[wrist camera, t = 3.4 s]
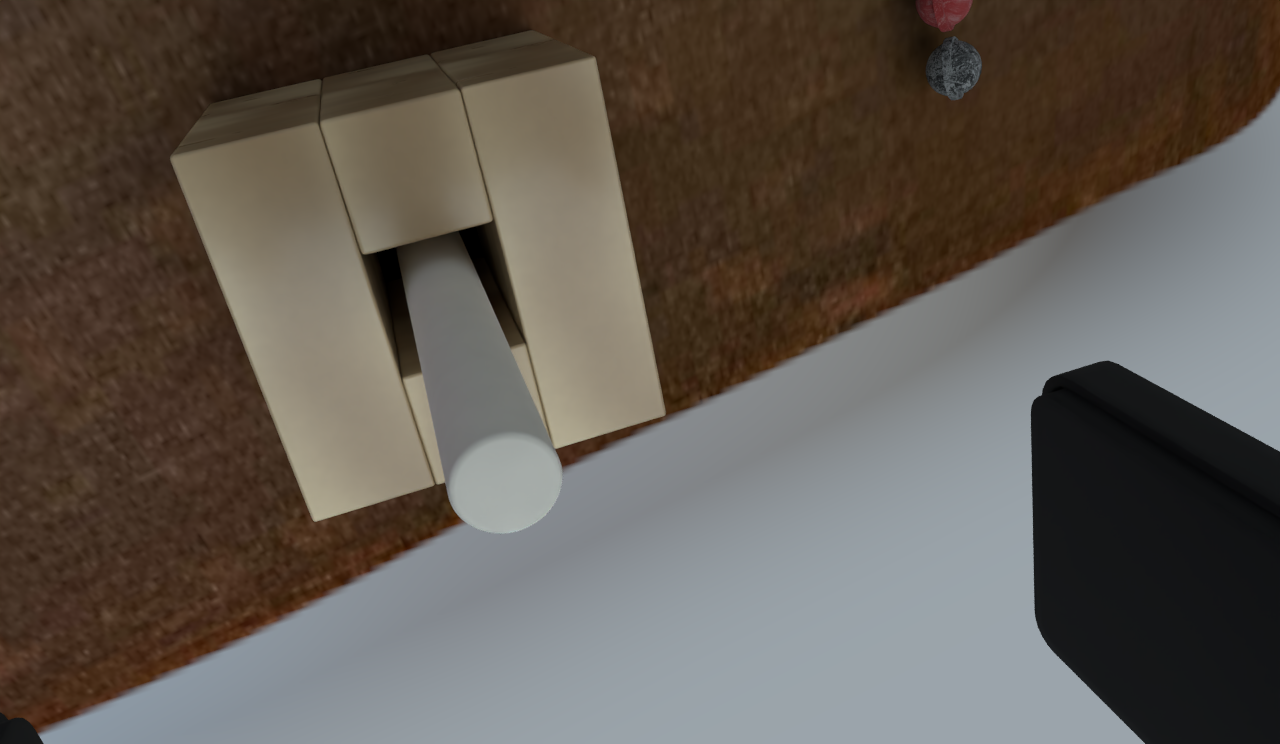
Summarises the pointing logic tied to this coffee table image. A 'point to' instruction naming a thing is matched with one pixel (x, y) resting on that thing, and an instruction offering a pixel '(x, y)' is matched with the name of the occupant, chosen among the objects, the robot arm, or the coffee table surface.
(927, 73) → the beads
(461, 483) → the white rod
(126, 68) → the coffee table surface
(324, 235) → the pen block
